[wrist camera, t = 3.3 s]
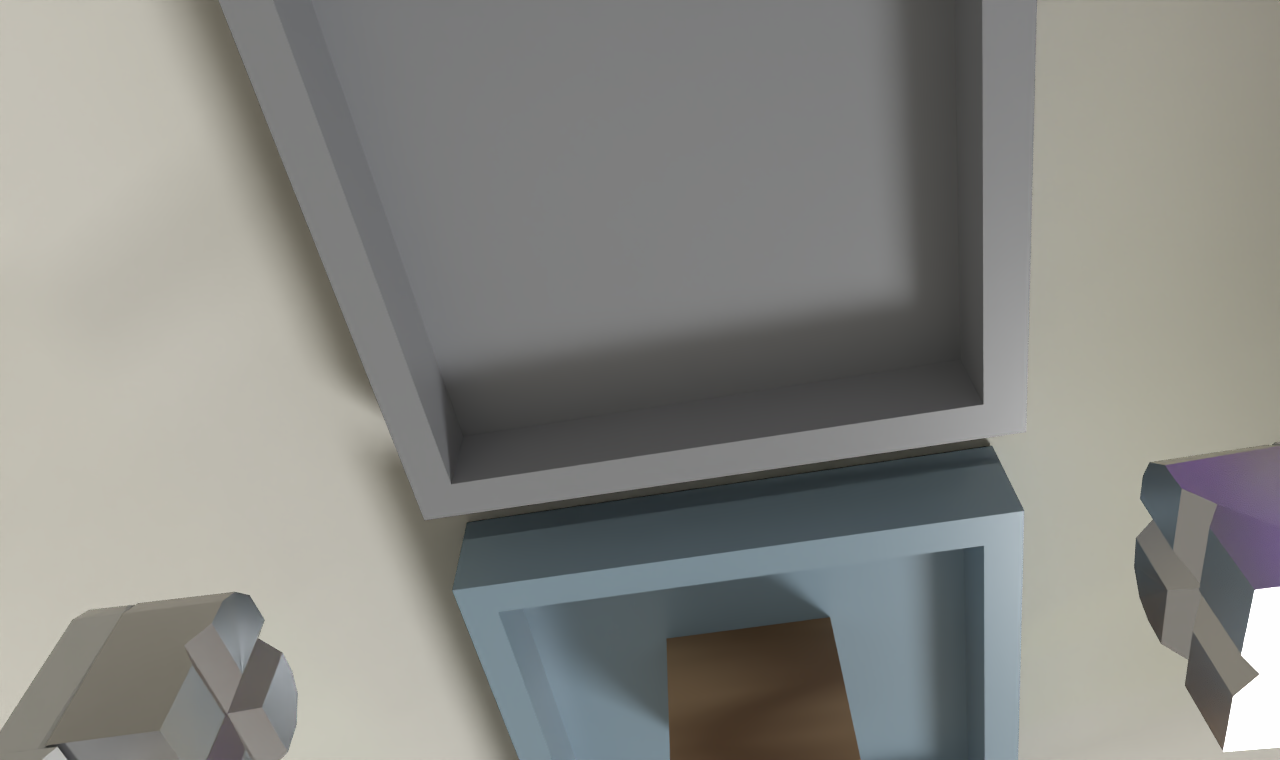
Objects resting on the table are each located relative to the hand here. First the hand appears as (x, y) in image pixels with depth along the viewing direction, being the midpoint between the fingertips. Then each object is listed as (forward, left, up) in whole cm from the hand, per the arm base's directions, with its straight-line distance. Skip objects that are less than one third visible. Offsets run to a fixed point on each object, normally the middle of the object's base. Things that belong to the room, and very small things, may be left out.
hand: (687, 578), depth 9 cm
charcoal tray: (0, 0, -11) cm, 11 cm away
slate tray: (0, +14, -11) cm, 18 cm away
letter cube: (0, +14, -10) cm, 18 cm away
